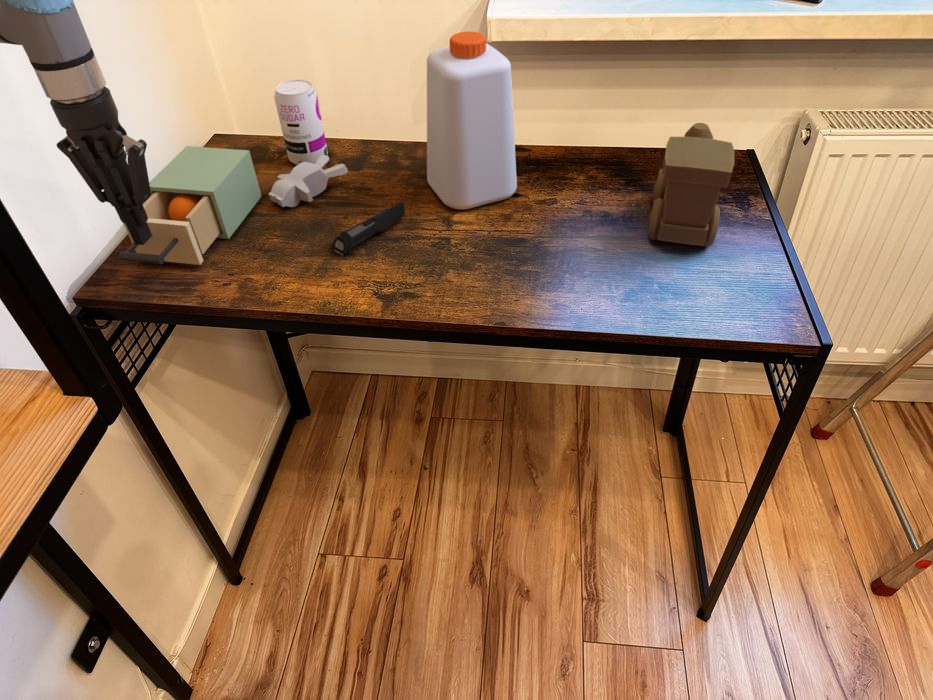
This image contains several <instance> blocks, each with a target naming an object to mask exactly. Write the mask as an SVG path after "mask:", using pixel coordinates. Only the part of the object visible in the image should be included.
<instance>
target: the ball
mask: <svg viewBox="0 0 933 700" xmlns="http://www.w3.org/2000/svg"><path fill="white" fill-rule="evenodd" d="M199 201H200V199H199V198H197V197H196V196H194V195H191V194H181V195H178V196H176V197H175V198H174V199H173V200H172V201H171V203H170V205H169V215H170V218H171V219H172V220H174V221H185V222H187V221H186V218H185V217H186V216H187V215H188V214H189V213H190V212H191V210H192V209H193V208H194V207H195V206H196V205H197V204H198V203H199Z"/></svg>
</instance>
